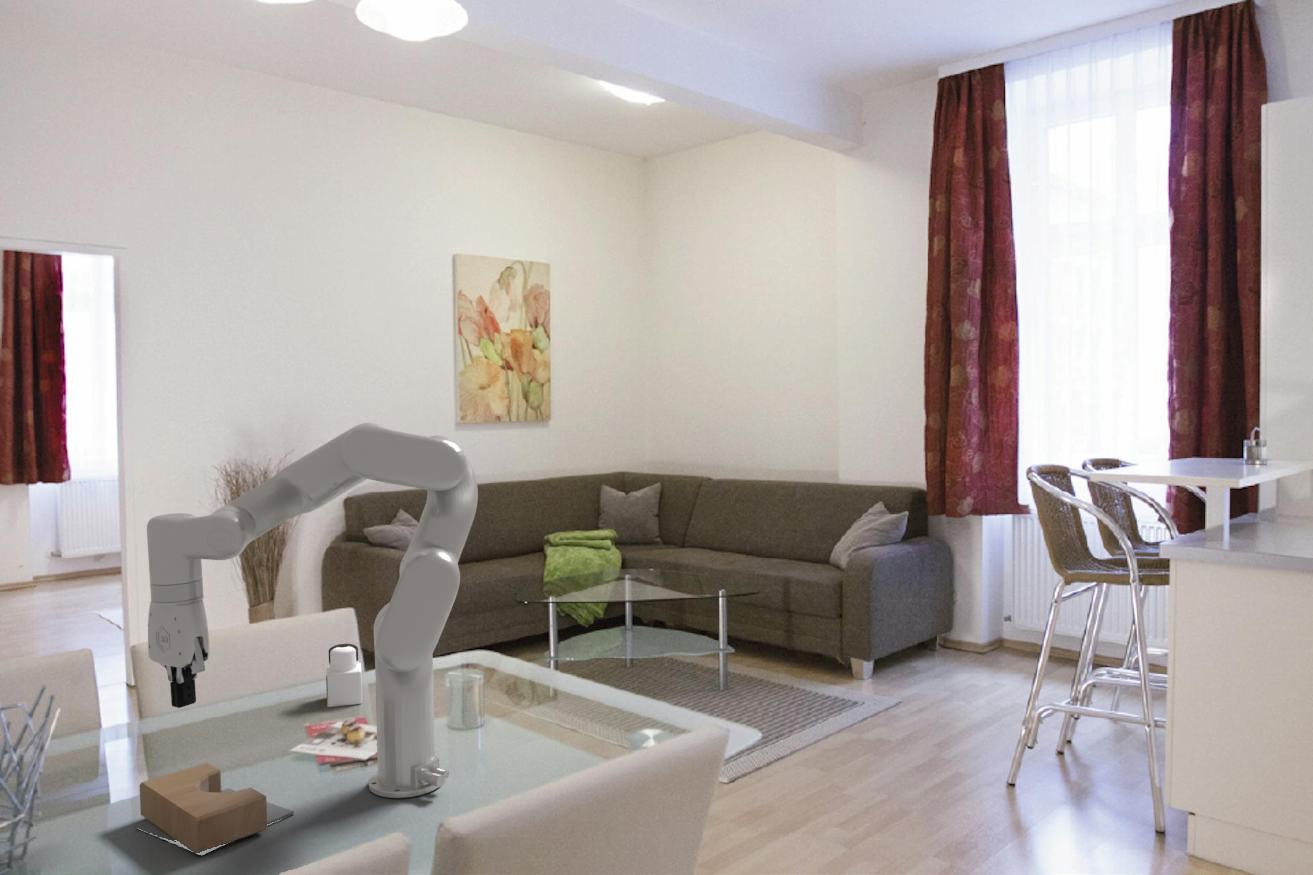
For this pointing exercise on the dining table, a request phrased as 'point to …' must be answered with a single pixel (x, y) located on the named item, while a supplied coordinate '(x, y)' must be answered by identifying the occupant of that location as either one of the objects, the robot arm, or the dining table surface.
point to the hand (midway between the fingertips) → (184, 704)
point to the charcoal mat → (272, 810)
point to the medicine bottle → (343, 676)
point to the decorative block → (202, 808)
